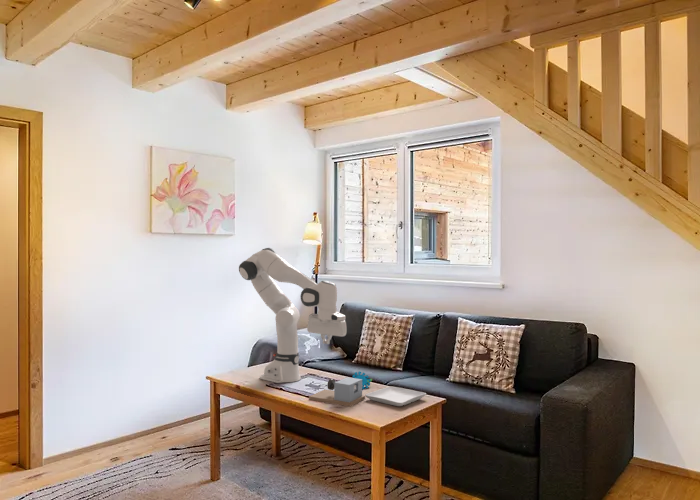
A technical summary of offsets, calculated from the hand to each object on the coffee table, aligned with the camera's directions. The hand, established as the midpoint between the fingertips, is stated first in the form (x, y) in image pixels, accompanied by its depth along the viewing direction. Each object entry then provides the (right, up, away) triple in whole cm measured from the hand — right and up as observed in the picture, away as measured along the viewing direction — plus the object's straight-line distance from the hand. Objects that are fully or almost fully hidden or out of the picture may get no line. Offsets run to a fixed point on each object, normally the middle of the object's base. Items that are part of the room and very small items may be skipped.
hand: (326, 343), depth 253 cm
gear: (+18, -25, +15) cm, 34 cm away
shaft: (+8, -21, -8) cm, 24 cm away
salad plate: (+33, -26, -7) cm, 42 cm away
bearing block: (+5, -25, -7) cm, 26 cm away
